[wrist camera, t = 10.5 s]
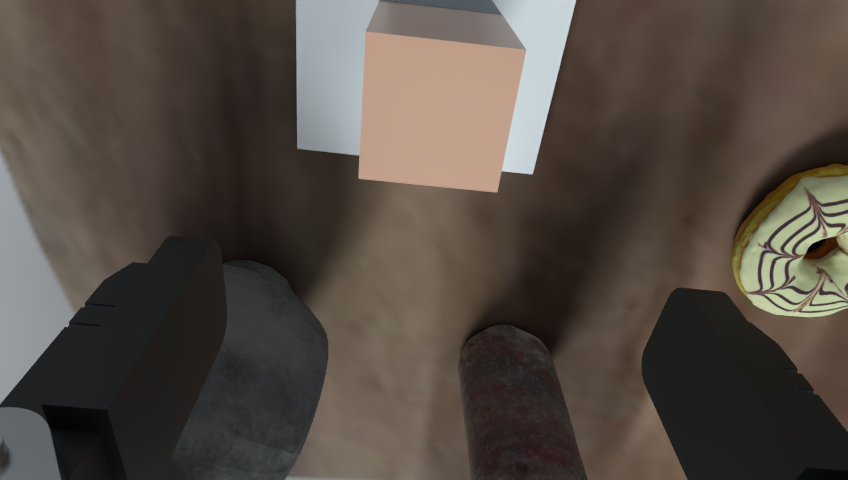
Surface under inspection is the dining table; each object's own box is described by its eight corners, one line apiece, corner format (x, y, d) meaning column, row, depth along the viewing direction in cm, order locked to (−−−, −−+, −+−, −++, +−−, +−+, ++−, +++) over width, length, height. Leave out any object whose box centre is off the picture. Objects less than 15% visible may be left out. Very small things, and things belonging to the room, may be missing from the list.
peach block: (379, 0, 21) (365, 31, 16) (502, 14, 22) (526, 50, 17) (372, 120, 24) (358, 178, 19) (481, 131, 24) (497, 192, 19)
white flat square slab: (303, -142, 26) (294, -145, 24) (589, -101, 26) (601, -101, 25) (303, 135, 33) (297, 148, 31) (527, 160, 34) (532, 174, 32)
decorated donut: (921, 169, 34) (972, 196, 31) (830, 299, 40) (865, 333, 37) (769, 147, 34) (805, 173, 30) (698, 283, 39) (722, 317, 36)
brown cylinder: (571, 348, 42) (669, 644, 26) (514, 401, 46) (567, 695, 29) (494, 307, 40) (545, 602, 23) (440, 366, 44) (450, 662, 27)
